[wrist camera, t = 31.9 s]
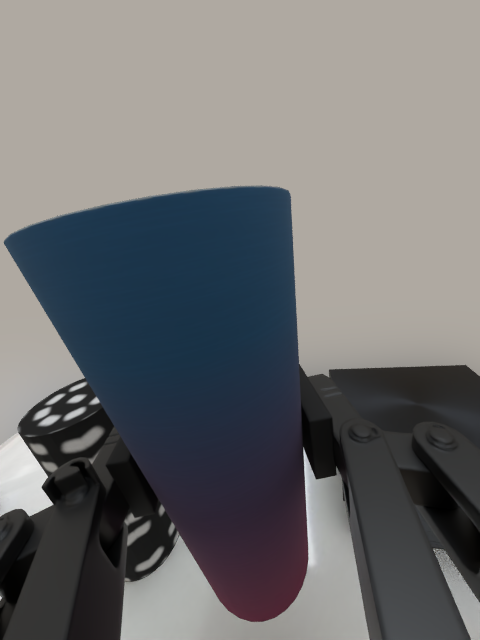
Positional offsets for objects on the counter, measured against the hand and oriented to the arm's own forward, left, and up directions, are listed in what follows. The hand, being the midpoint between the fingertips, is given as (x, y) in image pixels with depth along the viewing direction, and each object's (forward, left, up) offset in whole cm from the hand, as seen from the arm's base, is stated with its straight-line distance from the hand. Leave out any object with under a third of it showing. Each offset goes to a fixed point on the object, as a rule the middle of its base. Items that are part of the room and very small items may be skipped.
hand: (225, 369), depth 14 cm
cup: (-4, +3, -7) cm, 9 cm away
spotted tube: (+14, +8, -24) cm, 29 cm away
